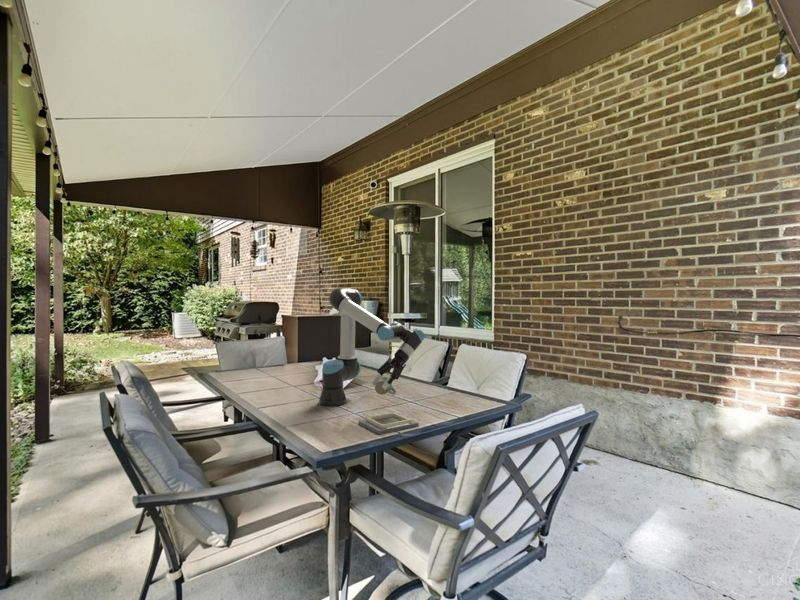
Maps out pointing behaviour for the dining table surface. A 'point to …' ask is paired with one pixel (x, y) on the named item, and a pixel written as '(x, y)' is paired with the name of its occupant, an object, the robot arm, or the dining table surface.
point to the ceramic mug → (380, 389)
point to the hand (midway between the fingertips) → (378, 386)
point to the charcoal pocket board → (387, 423)
